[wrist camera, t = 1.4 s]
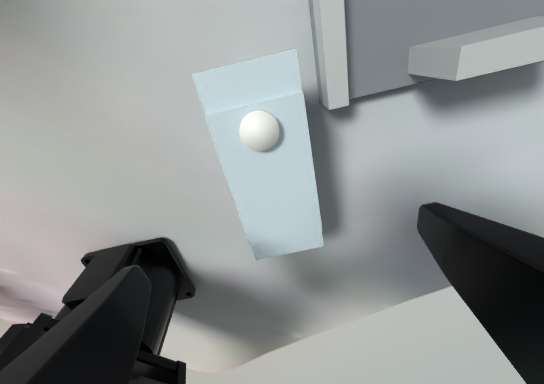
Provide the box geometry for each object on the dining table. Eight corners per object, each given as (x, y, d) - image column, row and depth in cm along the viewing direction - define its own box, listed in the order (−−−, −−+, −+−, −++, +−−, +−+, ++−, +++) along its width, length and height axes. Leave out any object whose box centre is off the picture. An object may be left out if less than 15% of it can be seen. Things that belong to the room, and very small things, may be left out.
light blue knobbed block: (309, 205, 18) (326, 255, 13) (255, 217, 18) (256, 269, 14) (284, 49, 13) (299, 48, 8) (209, 67, 13) (187, 76, 8)
